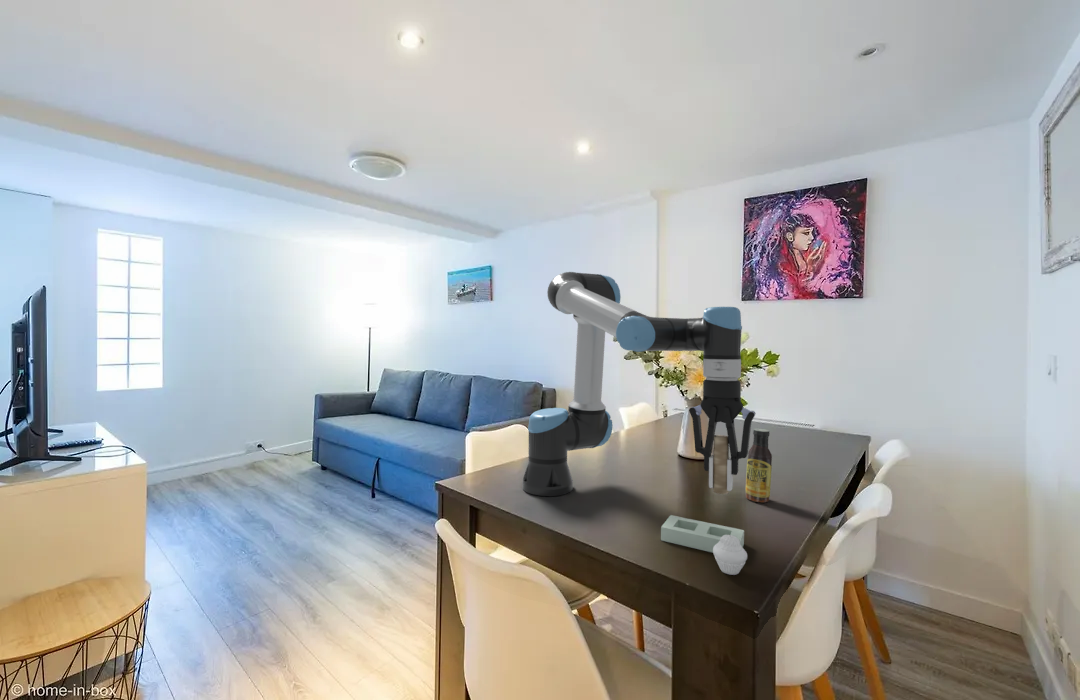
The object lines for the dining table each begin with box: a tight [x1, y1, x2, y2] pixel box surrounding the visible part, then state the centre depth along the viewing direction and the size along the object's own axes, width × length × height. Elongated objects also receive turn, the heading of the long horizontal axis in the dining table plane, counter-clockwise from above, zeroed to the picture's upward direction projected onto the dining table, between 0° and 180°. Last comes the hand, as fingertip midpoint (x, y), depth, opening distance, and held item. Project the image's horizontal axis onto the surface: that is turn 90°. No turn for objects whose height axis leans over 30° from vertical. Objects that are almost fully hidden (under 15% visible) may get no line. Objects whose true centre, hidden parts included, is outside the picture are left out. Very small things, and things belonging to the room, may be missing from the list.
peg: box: [712, 434, 730, 495], centre depth 96 cm, size 3×3×12 cm
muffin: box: [713, 535, 748, 576], centre depth 86 cm, size 6×6×7 cm
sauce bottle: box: [745, 428, 773, 504], centre depth 125 cm, size 7×6×20 cm
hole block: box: [660, 514, 745, 554], centre depth 99 cm, size 16×8×3 cm, turn 59°
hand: (720, 487), depth 96 cm, fingers closed on peg, 3 cm apart
